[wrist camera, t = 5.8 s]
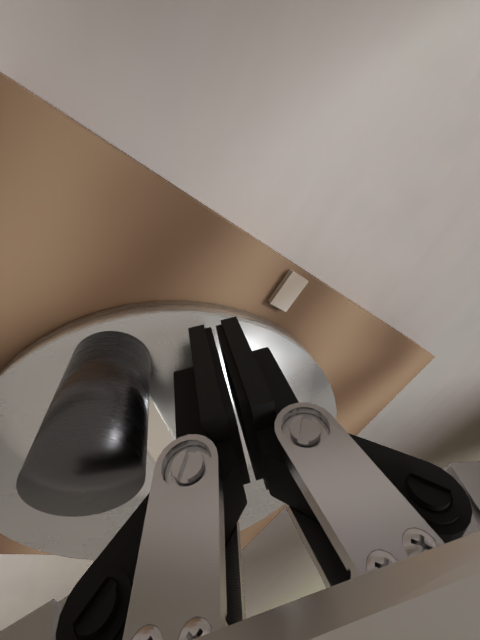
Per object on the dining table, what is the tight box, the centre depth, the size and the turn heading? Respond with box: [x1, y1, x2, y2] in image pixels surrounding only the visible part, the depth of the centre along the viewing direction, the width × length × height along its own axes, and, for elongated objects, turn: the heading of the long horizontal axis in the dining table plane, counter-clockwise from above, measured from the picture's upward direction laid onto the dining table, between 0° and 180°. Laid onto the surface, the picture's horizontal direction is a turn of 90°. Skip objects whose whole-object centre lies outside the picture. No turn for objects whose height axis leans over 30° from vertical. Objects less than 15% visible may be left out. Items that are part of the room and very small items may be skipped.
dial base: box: [0, 73, 435, 555], centre depth 16 cm, size 22×22×2 cm
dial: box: [0, 301, 337, 560], centre depth 13 cm, size 17×17×6 cm
